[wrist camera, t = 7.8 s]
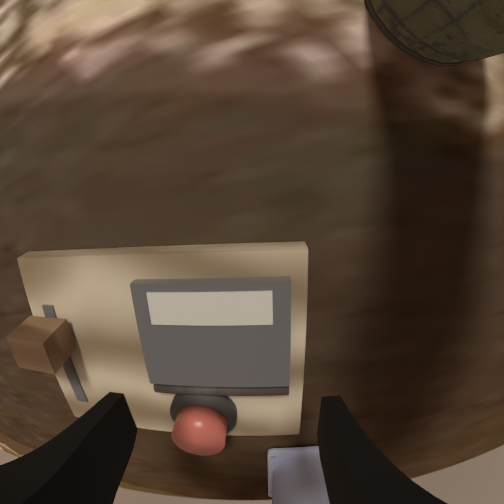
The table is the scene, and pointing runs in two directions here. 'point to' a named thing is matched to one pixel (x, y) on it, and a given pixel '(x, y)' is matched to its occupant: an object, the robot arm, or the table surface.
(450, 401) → the table surface
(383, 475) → the robot arm
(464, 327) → the table surface
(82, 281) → the control panel
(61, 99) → the table surface
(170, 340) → the paddle switch
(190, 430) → the push button
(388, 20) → the thermos
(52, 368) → the slider knob
